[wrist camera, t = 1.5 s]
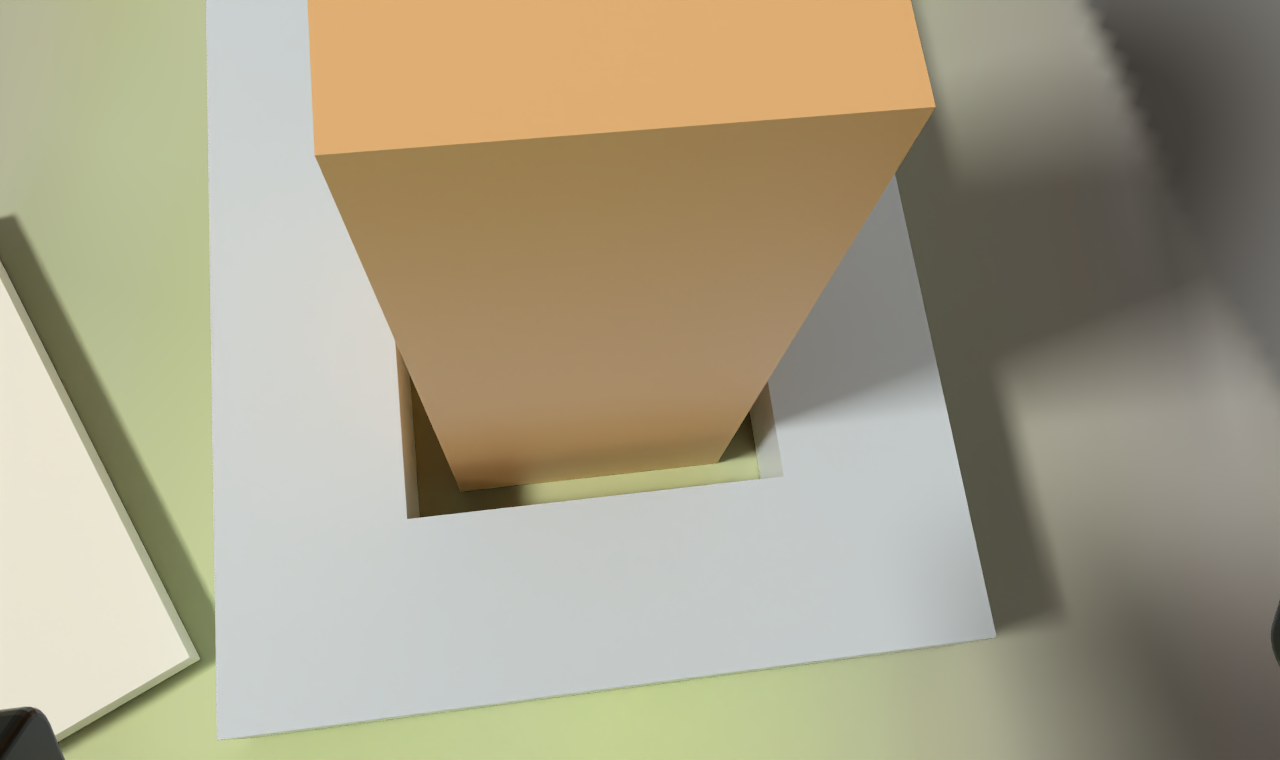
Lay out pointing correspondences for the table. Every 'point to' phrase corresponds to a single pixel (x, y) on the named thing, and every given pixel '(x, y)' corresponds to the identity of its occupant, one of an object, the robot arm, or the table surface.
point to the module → (604, 205)
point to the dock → (542, 533)
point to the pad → (69, 555)
